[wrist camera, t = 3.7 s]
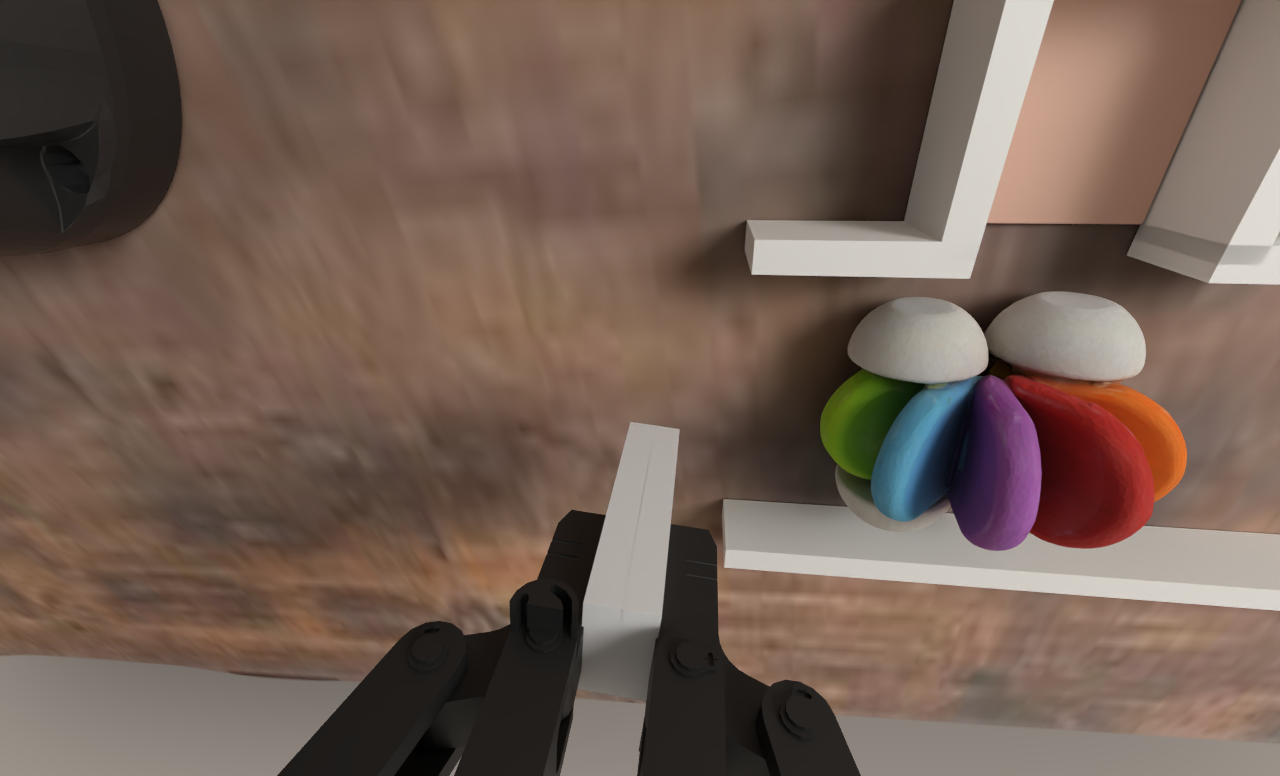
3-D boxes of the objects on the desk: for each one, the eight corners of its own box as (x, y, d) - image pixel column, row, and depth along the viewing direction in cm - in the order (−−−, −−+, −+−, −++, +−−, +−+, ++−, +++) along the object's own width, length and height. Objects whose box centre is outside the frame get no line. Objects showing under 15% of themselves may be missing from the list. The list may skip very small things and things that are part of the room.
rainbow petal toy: (1047, 482, 21) (1200, 646, 14) (801, 478, 22) (840, 628, 16) (1127, 276, 17) (1388, 378, 10) (820, 287, 18) (884, 383, 12)
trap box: (722, 515, 23) (724, 567, 20) (770, -51, 14) (785, -90, 11) (1550, 571, 20) (1679, 641, 17) (2377, -126, 10) (2951, -208, 8)
